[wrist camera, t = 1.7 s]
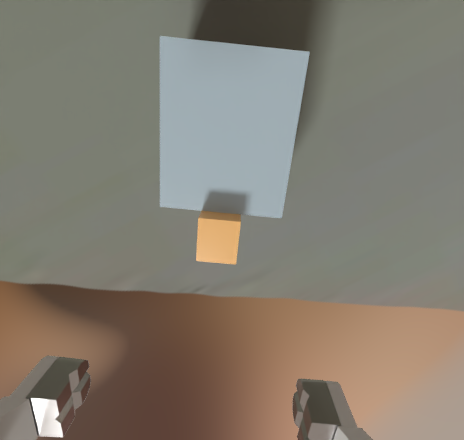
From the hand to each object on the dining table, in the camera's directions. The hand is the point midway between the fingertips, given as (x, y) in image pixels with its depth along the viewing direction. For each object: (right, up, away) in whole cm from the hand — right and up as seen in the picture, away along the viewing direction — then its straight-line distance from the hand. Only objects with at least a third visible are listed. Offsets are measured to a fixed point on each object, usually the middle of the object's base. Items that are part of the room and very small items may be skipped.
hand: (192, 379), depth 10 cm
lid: (+1, +12, +13) cm, 18 cm away
